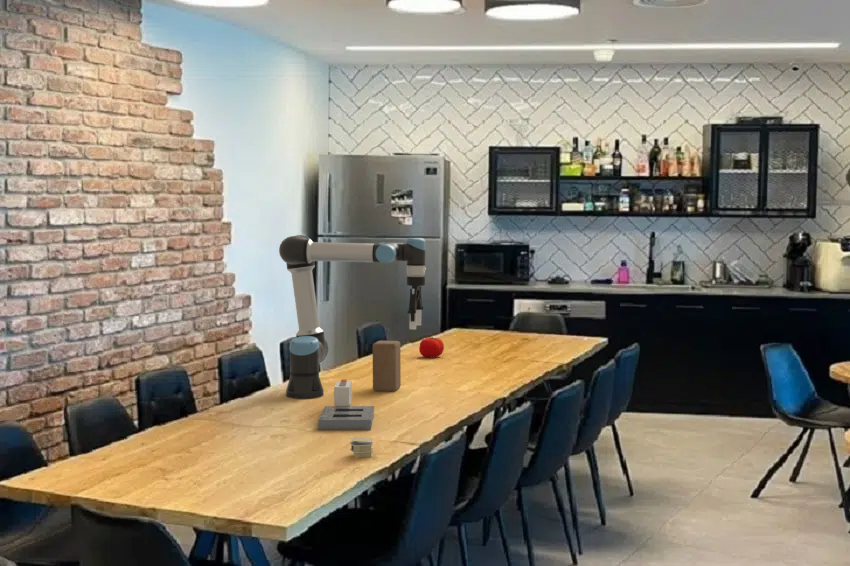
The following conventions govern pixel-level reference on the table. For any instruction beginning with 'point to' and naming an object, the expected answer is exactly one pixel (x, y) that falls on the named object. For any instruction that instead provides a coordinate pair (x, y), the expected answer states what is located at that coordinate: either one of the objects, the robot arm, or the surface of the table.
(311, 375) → the robot arm
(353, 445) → the building
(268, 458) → the table surface
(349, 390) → the light grey box
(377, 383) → the wooden block
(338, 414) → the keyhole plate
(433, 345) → the tomato
